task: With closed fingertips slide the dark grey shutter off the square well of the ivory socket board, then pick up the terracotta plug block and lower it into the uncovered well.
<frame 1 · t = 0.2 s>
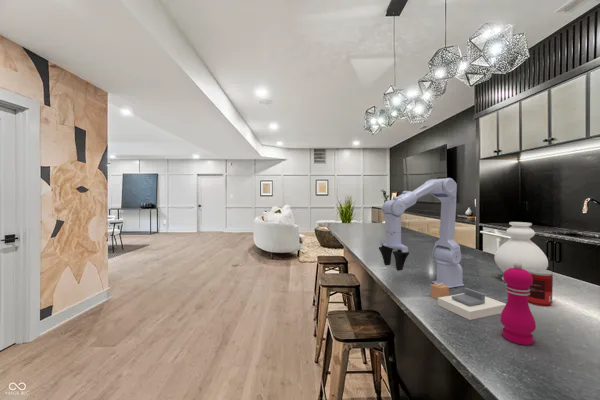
hand: (393, 267, 105), 10 cm above the countertop, tool pointing down, fingers open, 7 cm apart
pepper mill: (517, 339, 72), on the countertop
canned food: (537, 302, 96), on the countertop
shutter: (467, 296, 90), point 4 cm above the countertop, slide at 0.0 cm
socket board: (471, 308, 91), on the countertop
decorative vase: (519, 281, 117), on the countertop
plug: (439, 297, 101), on the countertop
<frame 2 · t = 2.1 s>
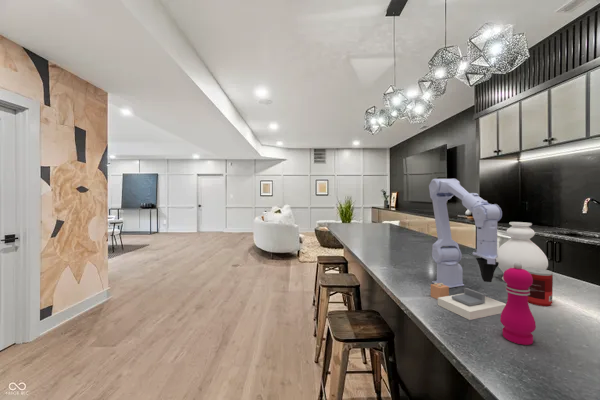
hand: (486, 280, 93), 8 cm above the countertop, tool pointing down, fingers closed
nothing on the countertop moved.
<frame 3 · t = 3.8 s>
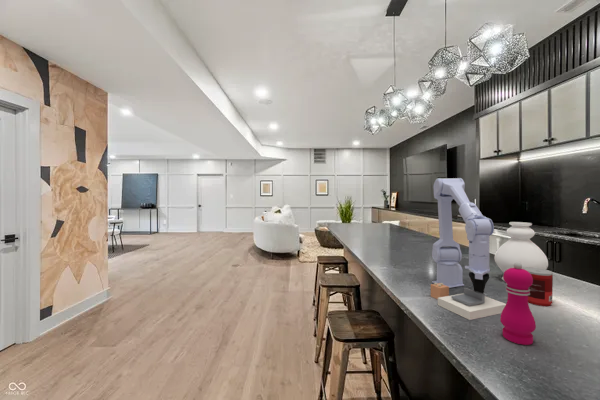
hand: (478, 295, 92), 4 cm above the countertop, tool pointing down, fingers closed
shutter: (467, 296, 90), point 4 cm above the countertop, slide at 0.1 cm, touching gripper
everything else where it was.
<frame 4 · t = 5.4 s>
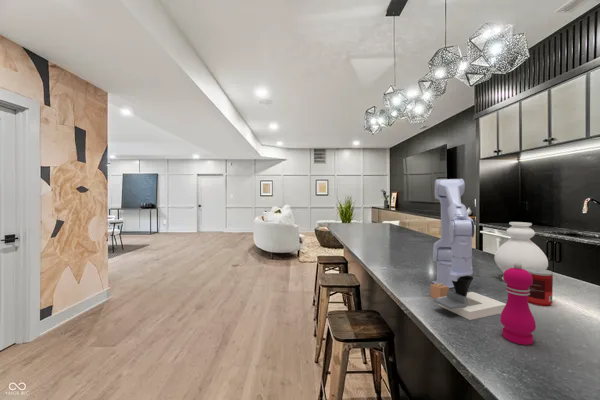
hand: (461, 298, 89), 4 cm above the countertop, tool pointing down, fingers closed
shutter: (449, 299, 88), point 4 cm above the countertop, slide at 7.7 cm, touching gripper
everything else where it was.
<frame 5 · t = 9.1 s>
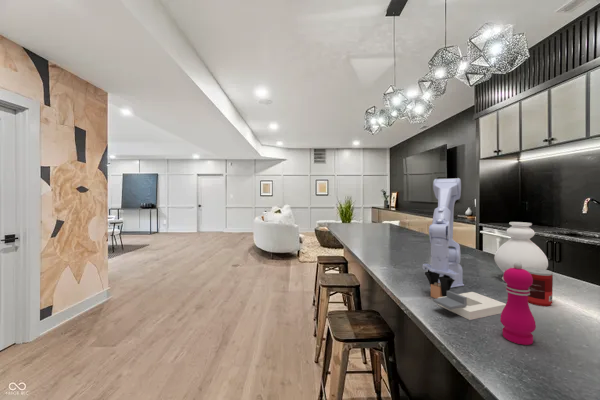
hand: (439, 293, 100), 1 cm above the countertop, tool pointing down, fingers closed on plug, 4 cm apart
shutter: (449, 299, 88), point 4 cm above the countertop, slide at 7.8 cm
plug: (439, 297, 101), on the countertop, touching gripper
everything else where it was.
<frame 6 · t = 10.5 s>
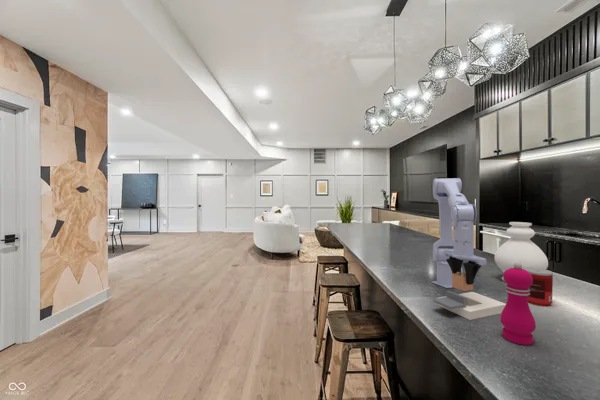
hand: (463, 281, 92), 9 cm above the countertop, tool pointing down, fingers closed on plug, 4 cm apart
plug: (462, 288, 91), point 6 cm above the countertop, touching gripper
everything else where it was.
when the fingers open (3 cm above the countertop, at t = 12.3 s): plug drops 1 cm, resting in socket board.
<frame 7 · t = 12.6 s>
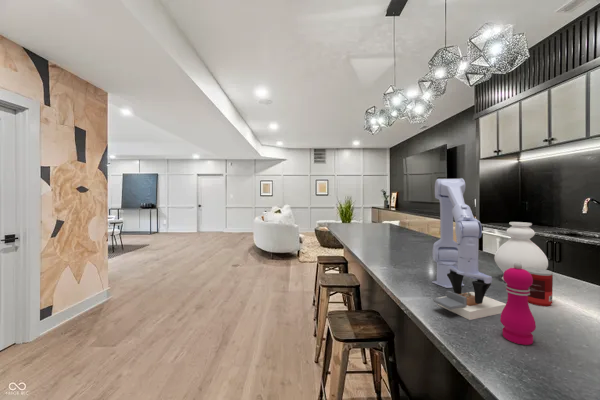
hand: (467, 298, 90), 3 cm above the countertop, tool pointing down, fingers open, 7 cm apart
plug: (467, 309, 90), resting in socket board
everything else where it was.
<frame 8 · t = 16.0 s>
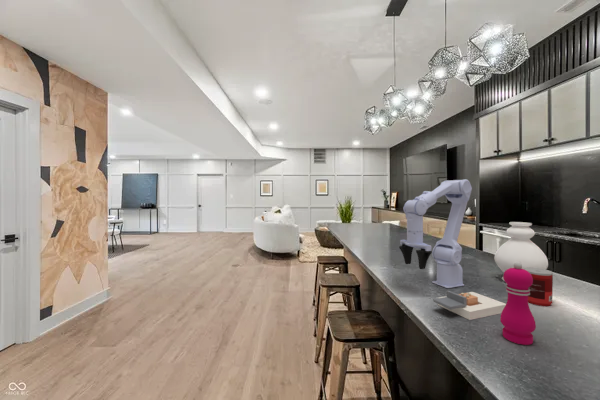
hand: (414, 266, 107), 10 cm above the countertop, tool pointing down, fingers open, 7 cm apart
nothing on the countertop moved.
at the end: shutter slide at 7.8 cm; plug 0.3 cm from the target spot on the socket board, point 0.0 cm above the socket board's base; plug tilted 0° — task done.
